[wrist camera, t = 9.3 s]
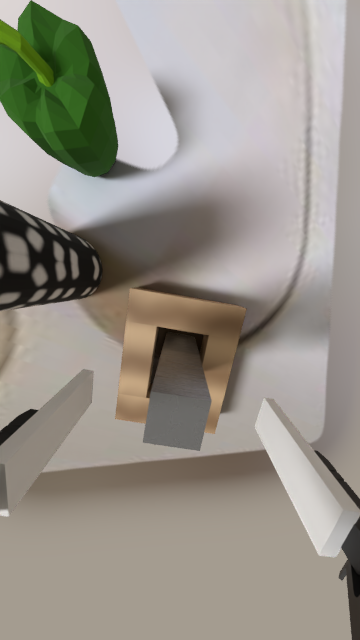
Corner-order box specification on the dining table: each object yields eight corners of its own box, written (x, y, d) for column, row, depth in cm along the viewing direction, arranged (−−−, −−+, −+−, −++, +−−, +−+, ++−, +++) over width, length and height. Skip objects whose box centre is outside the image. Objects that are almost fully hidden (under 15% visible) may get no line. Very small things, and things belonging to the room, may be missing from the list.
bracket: (167, 331, 25) (150, 391, 11) (194, 336, 25) (211, 400, 11) (159, 375, 26) (137, 476, 12) (185, 379, 26) (191, 483, 13)
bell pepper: (140, 129, 20) (101, -22, 10) (114, 201, 21) (57, 132, 12) (70, 89, 19) (-46, -116, 9) (48, 167, 21) (-71, 62, 11)
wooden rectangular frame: (137, 287, 23) (129, 288, 20) (237, 305, 24) (246, 308, 20) (123, 401, 27) (115, 418, 24) (210, 415, 28) (214, 433, 24)
